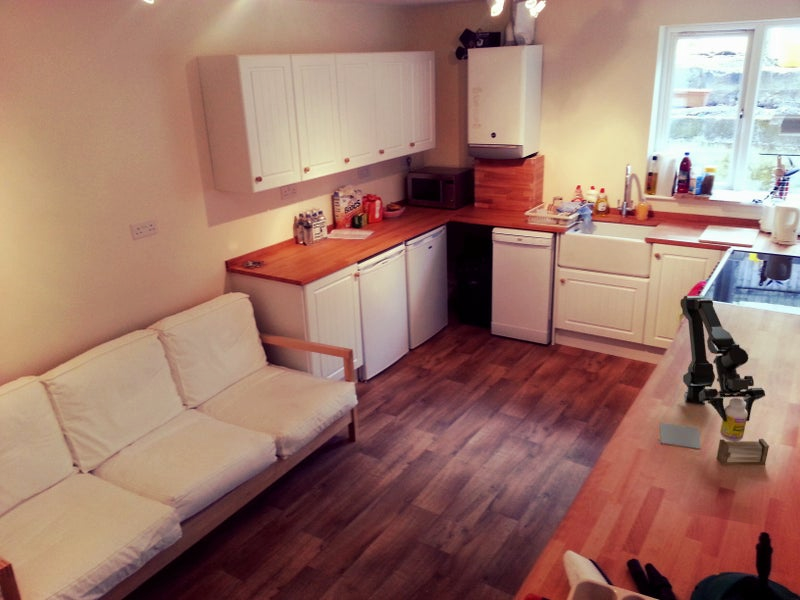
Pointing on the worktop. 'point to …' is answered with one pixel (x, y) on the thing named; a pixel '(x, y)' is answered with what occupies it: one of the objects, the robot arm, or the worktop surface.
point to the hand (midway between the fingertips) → (736, 421)
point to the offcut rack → (742, 452)
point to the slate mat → (679, 435)
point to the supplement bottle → (734, 420)
